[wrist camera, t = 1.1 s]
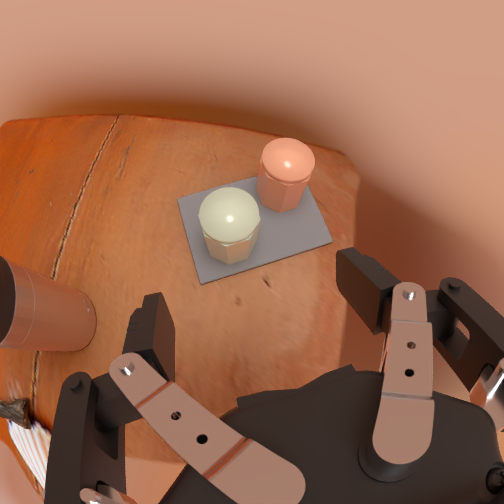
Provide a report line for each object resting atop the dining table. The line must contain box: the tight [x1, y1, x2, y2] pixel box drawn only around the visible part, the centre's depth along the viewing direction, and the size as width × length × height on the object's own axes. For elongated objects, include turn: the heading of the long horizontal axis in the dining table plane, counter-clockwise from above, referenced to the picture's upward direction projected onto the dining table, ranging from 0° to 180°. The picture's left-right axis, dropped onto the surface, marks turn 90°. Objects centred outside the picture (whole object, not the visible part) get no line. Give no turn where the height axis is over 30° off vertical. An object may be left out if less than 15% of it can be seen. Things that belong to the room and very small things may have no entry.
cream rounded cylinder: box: [198, 187, 261, 265], centre depth 34 cm, size 6×6×8 cm
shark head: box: [0, 397, 30, 429], centre depth 26 cm, size 8×6×7 cm
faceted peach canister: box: [256, 138, 315, 213], centre depth 37 cm, size 6×6×8 cm
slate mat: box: [177, 176, 333, 285], centre depth 40 cm, size 19×13×1 cm
